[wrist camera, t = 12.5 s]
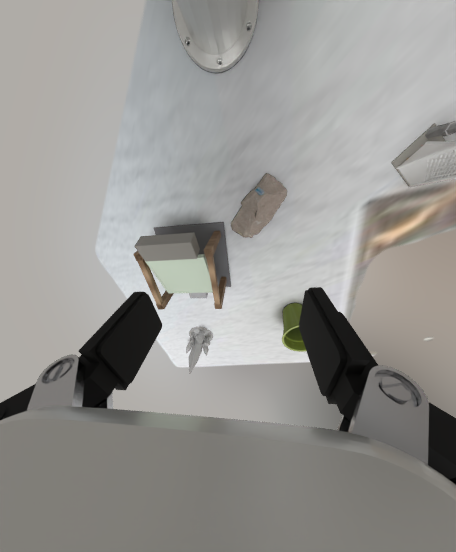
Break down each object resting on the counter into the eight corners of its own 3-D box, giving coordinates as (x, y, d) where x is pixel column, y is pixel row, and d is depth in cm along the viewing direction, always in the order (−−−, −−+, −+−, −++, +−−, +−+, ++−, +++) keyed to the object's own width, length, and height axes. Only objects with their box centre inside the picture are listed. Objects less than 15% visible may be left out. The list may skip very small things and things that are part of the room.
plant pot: (285, 326, 59) (292, 355, 49) (269, 305, 54) (274, 333, 45) (318, 315, 54) (333, 345, 45) (304, 291, 50) (318, 319, 40)
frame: (160, 234, 44) (133, 253, 34) (220, 230, 42) (211, 249, 31) (176, 281, 53) (158, 309, 42) (226, 280, 50) (221, 308, 40)
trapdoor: (136, 236, 32) (129, 246, 30) (199, 232, 30) (196, 242, 28) (170, 287, 45) (167, 296, 43) (216, 286, 43) (214, 295, 41)
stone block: (186, 284, 46) (190, 298, 49) (203, 284, 45) (206, 297, 48) (191, 275, 50) (194, 288, 53) (207, 274, 50) (209, 287, 52)
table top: (154, 227, 43) (153, 228, 43) (223, 222, 41) (223, 222, 40) (174, 287, 54) (174, 288, 54) (230, 285, 51) (230, 286, 51)
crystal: (217, 327, 63) (210, 366, 50) (208, 346, 70) (200, 384, 57) (193, 320, 62) (179, 357, 49) (186, 339, 69) (173, 376, 56)
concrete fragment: (226, 222, 41) (223, 229, 36) (264, 169, 34) (267, 168, 29) (247, 239, 43) (247, 248, 38) (287, 191, 36) (294, 194, 31)
